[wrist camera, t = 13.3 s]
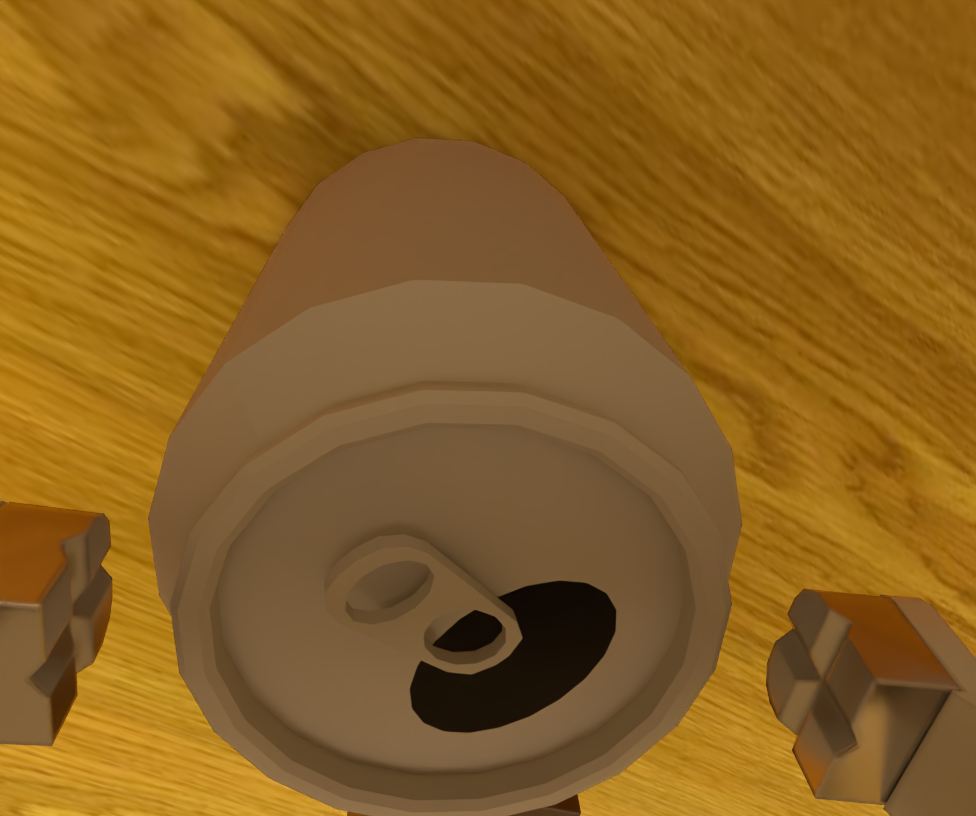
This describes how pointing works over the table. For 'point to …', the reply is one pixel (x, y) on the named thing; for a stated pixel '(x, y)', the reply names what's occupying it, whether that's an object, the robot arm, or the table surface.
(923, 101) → the table surface
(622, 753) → the can
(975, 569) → the table surface
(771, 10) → the table surface
